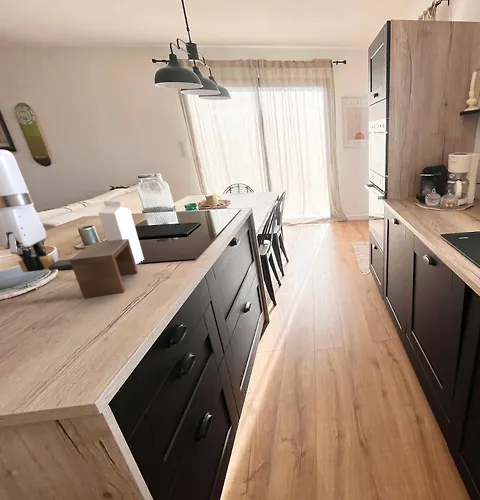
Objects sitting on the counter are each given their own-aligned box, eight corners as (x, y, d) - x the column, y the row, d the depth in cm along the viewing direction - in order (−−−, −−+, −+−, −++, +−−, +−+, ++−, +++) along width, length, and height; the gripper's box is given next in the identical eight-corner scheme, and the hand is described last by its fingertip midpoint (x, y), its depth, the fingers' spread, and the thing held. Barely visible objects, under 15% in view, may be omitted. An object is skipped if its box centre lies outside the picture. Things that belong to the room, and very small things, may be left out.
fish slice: (20, 274, 75) (14, 263, 74) (31, 267, 80) (26, 256, 78) (77, 267, 79) (73, 256, 78) (85, 260, 84) (81, 250, 83)
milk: (130, 267, 98) (111, 203, 90) (115, 266, 99) (94, 203, 91) (144, 260, 103) (127, 199, 96) (129, 259, 104) (111, 199, 96)
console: (84, 298, 78) (69, 259, 74) (104, 276, 91) (92, 242, 87) (123, 292, 81) (111, 254, 77) (138, 271, 94) (128, 238, 90)
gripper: (11, 197, 77) (38, 260, 84) (-37, 209, 63) (1, 283, 70) (47, 195, 80) (71, 256, 87) (9, 206, 66) (40, 278, 73)
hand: (39, 267), depth 78 cm, fingers closed on fish slice, 2 cm apart
